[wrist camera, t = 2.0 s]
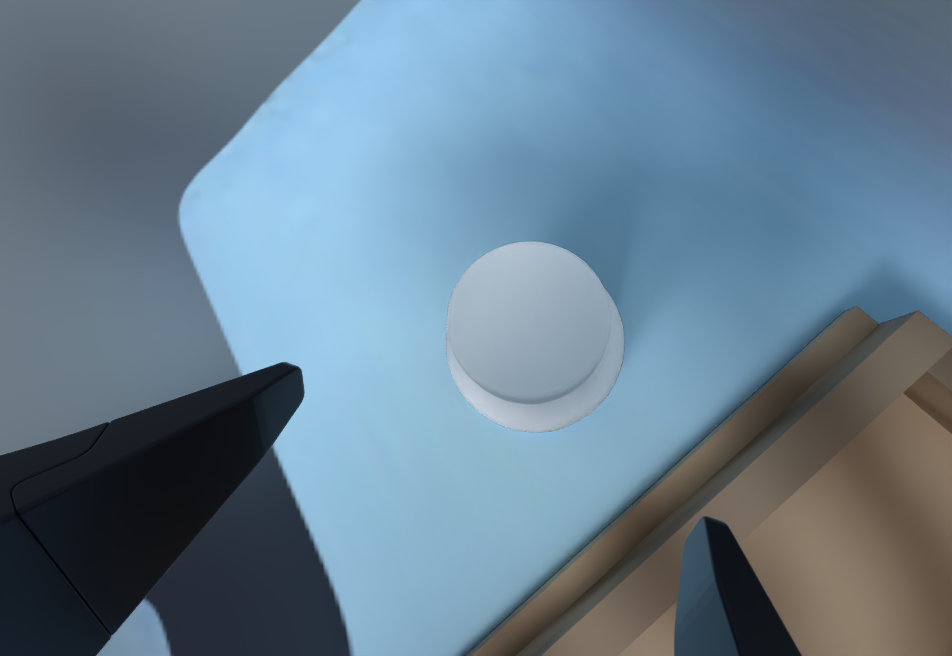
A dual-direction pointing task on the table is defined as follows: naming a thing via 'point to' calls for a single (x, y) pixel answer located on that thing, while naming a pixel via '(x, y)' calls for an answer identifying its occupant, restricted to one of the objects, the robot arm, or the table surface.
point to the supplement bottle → (533, 337)
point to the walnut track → (789, 511)
